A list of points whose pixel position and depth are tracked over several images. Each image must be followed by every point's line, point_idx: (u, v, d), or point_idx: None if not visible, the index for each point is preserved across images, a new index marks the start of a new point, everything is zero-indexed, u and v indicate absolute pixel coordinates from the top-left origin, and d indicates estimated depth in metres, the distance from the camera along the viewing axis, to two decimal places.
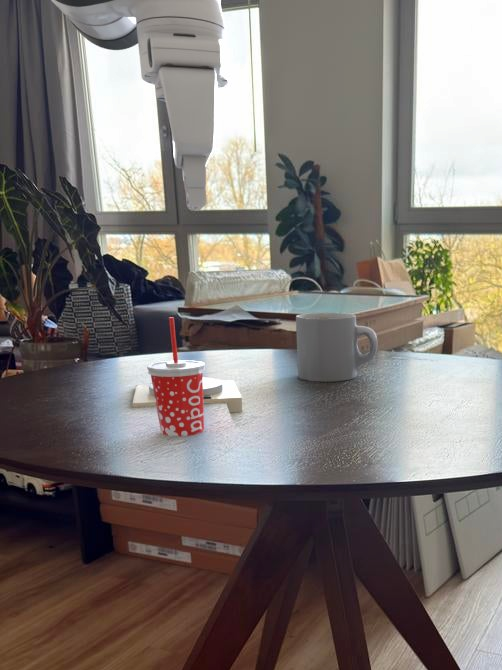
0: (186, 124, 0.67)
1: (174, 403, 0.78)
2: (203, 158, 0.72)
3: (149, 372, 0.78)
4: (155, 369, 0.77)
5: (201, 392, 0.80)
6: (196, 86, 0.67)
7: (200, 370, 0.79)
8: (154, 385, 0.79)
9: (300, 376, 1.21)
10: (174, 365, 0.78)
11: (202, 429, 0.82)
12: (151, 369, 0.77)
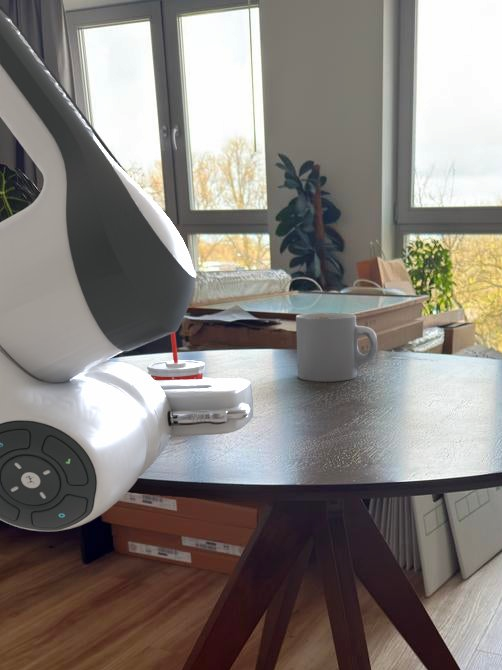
0: None
1: None
2: None
3: (149, 372, 0.78)
4: (155, 369, 0.77)
5: None
6: None
7: (200, 370, 0.79)
8: None
9: (300, 376, 1.21)
10: (174, 365, 0.78)
11: None
12: (151, 369, 0.77)
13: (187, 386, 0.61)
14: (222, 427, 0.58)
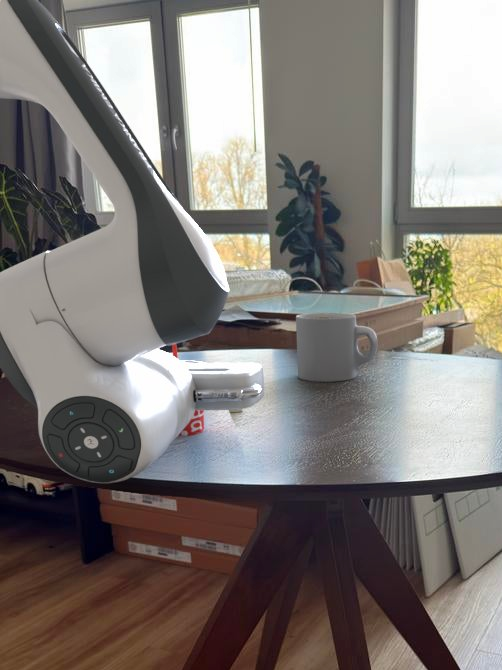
0: None
1: None
2: None
3: None
4: None
5: None
6: None
7: None
8: None
9: (300, 376, 1.21)
10: None
11: (202, 429, 0.82)
12: None
13: (209, 369, 0.72)
14: (238, 404, 0.70)
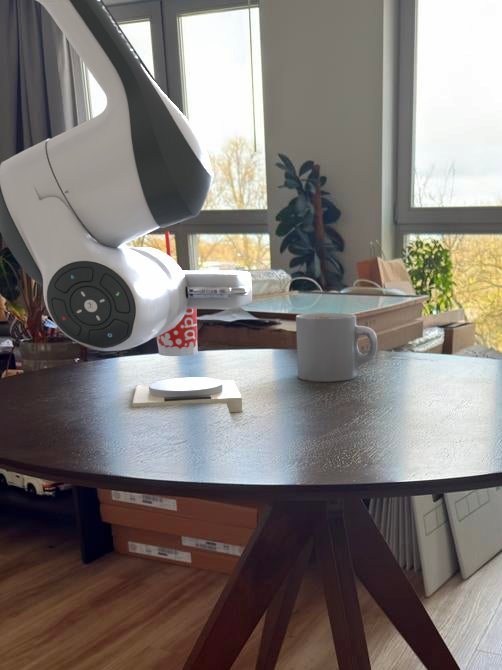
0: None
1: None
2: None
3: None
4: None
5: None
6: None
7: None
8: None
9: (300, 376, 1.21)
10: None
11: (195, 339, 0.88)
12: None
13: (201, 272, 0.78)
14: (227, 302, 0.76)
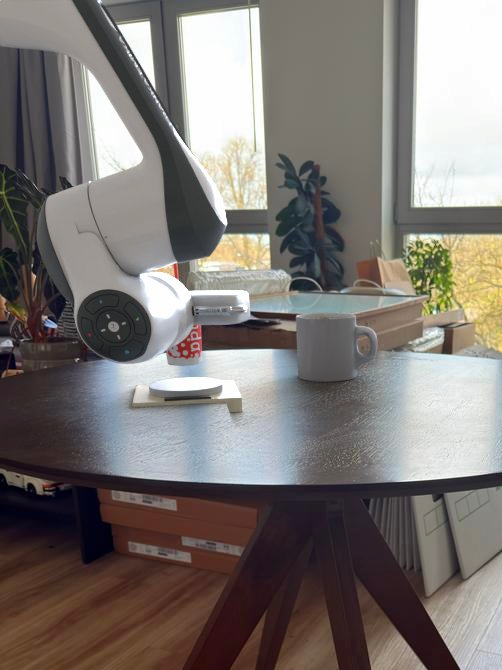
0: None
1: None
2: None
3: None
4: None
5: None
6: None
7: None
8: None
9: (300, 376, 1.21)
10: None
11: (200, 350, 0.99)
12: None
13: (205, 293, 0.89)
14: (228, 319, 0.87)
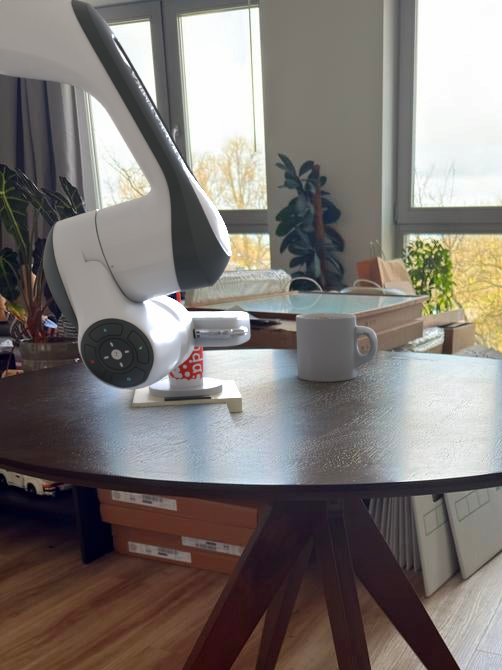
0: None
1: None
2: None
3: None
4: None
5: None
6: None
7: None
8: None
9: (300, 376, 1.21)
10: None
11: (202, 371, 1.00)
12: None
13: (206, 314, 0.90)
14: (229, 341, 0.88)
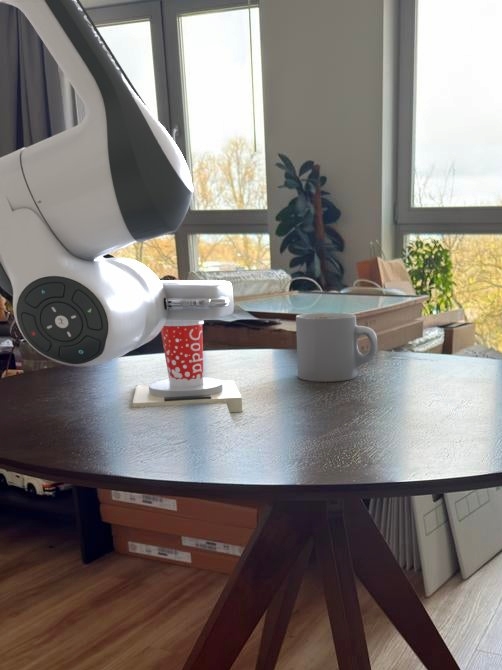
0: None
1: (179, 348, 0.96)
2: None
3: None
4: None
5: (201, 340, 0.98)
6: None
7: (200, 322, 0.97)
8: (163, 334, 0.97)
9: (300, 376, 1.21)
10: None
11: (202, 371, 1.00)
12: None
13: (180, 283, 0.77)
14: (207, 313, 0.75)
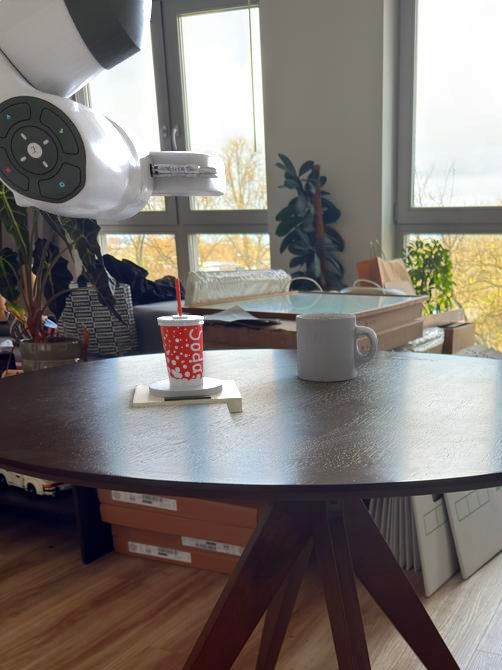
0: None
1: (179, 348, 0.96)
2: None
3: (158, 323, 0.96)
4: (163, 320, 0.95)
5: (201, 340, 0.98)
6: None
7: (200, 322, 0.97)
8: (163, 334, 0.97)
9: (300, 376, 1.21)
10: (179, 317, 0.96)
11: (202, 371, 1.00)
12: (160, 320, 0.95)
13: None
14: (196, 184, 0.70)
